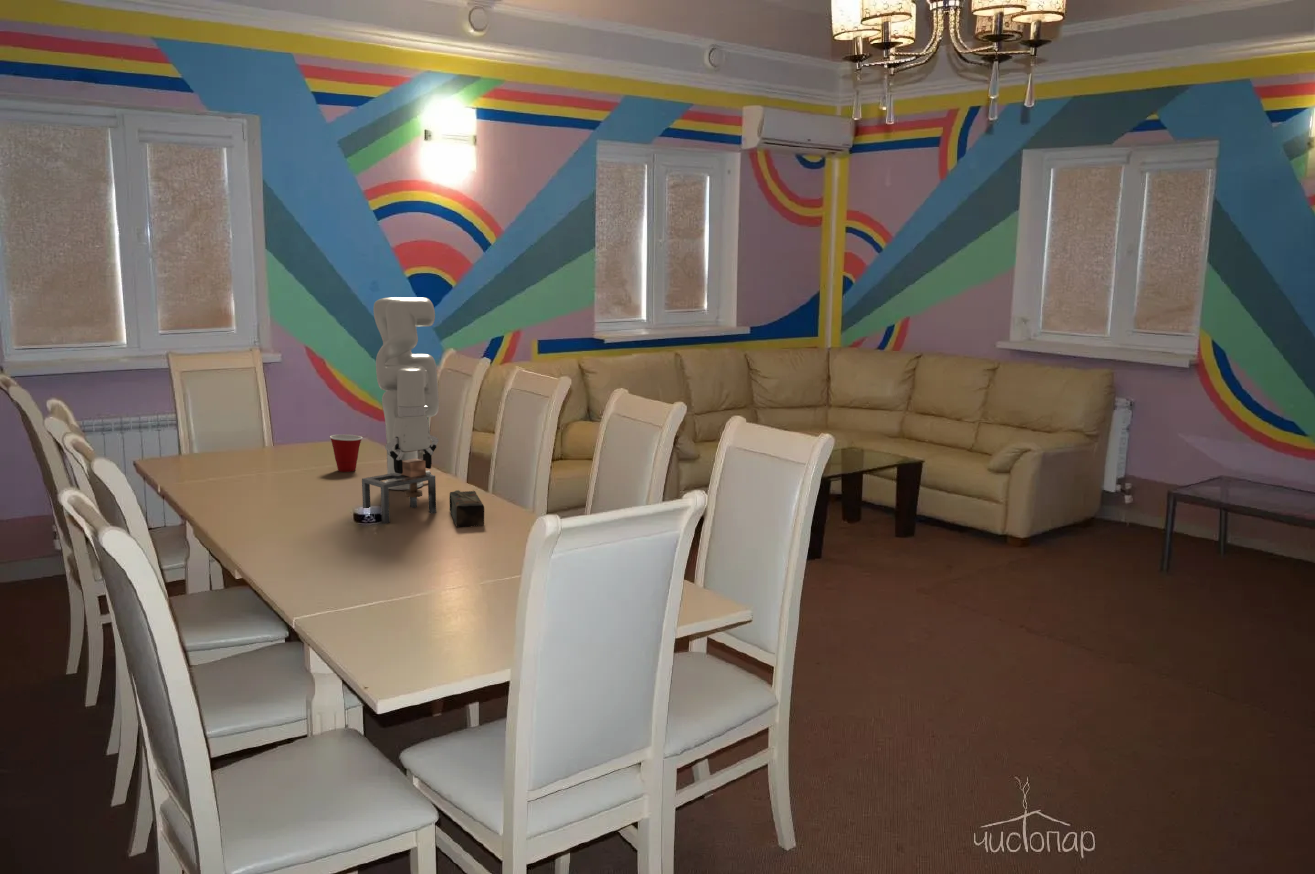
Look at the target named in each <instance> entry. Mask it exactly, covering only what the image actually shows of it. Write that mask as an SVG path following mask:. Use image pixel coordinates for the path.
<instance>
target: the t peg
mask: <svg viewBox="0 0 1315 874" xmlns="http://www.w3.org/2000/svg"><path fill="white" fill-rule="evenodd" d="M402 462H403V473H402V474H401V475H405V476H408V477H415V476H421V475H426V471H427V468H426V466H425V461H424V460H423V459H420V458H418V459H409V460H403V461H402ZM404 491H405V492H404V493H405V495H404V497H406V498H410V497H417V498H419V497H420V498H421V497H423V490H422V489H418V488H417V482H416V483H411V484H410V490H409V489H407V490H404Z"/></svg>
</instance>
